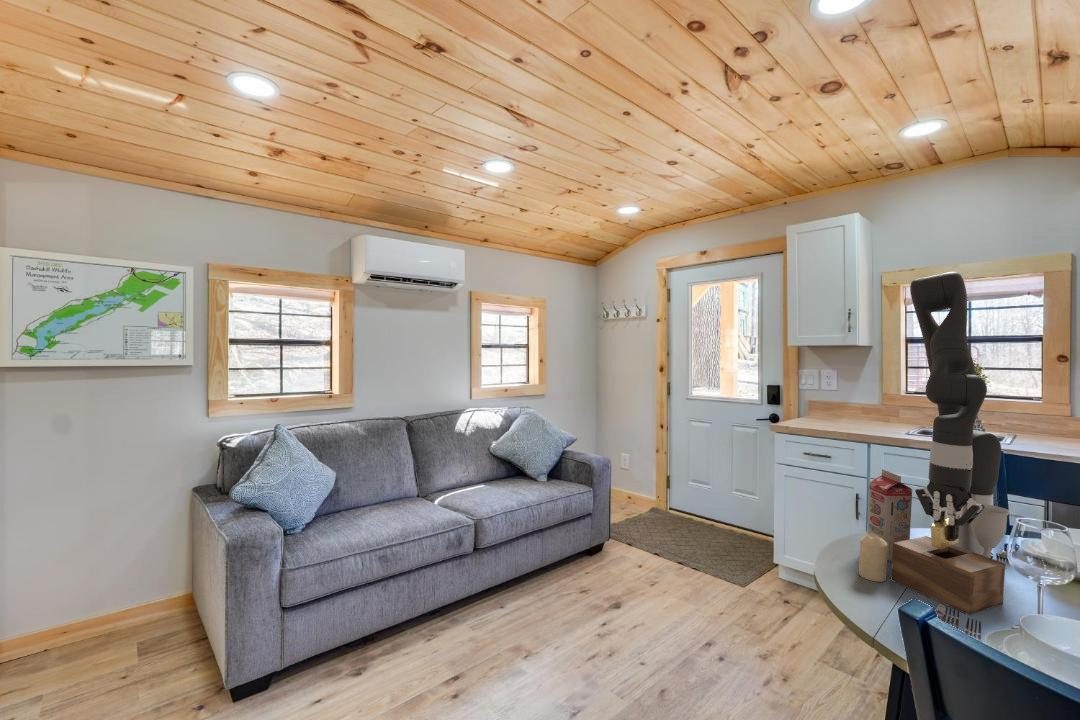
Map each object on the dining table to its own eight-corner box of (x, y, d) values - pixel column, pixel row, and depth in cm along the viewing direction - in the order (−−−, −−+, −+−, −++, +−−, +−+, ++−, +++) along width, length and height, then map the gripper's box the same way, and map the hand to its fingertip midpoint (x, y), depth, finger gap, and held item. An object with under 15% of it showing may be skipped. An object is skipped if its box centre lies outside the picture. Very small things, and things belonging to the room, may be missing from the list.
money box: (924, 572, 127) (926, 536, 127) (1002, 604, 112) (1005, 563, 112) (891, 580, 123) (893, 542, 122) (968, 614, 108) (970, 572, 107)
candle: (890, 583, 121) (892, 541, 121) (864, 580, 122) (866, 539, 122) (880, 572, 126) (881, 532, 126) (855, 570, 128) (856, 530, 127)
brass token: (930, 525, 116) (948, 518, 118) (931, 546, 117) (948, 538, 119) (940, 528, 114) (957, 521, 117) (941, 549, 115) (958, 542, 117)
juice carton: (890, 549, 140) (894, 469, 139) (908, 560, 133) (912, 476, 132) (866, 549, 140) (870, 469, 139) (883, 560, 133) (887, 476, 132)
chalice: (996, 580, 123) (1001, 505, 122) (1011, 593, 117) (1017, 515, 116) (959, 575, 126) (963, 502, 125) (972, 587, 119) (977, 511, 118)
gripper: (907, 456, 121) (903, 529, 122) (975, 472, 108) (969, 553, 109) (929, 454, 124) (924, 526, 125) (997, 469, 111) (991, 548, 112)
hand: (945, 538), depth 117 cm, fingers closed on brass token, 1 cm apart
